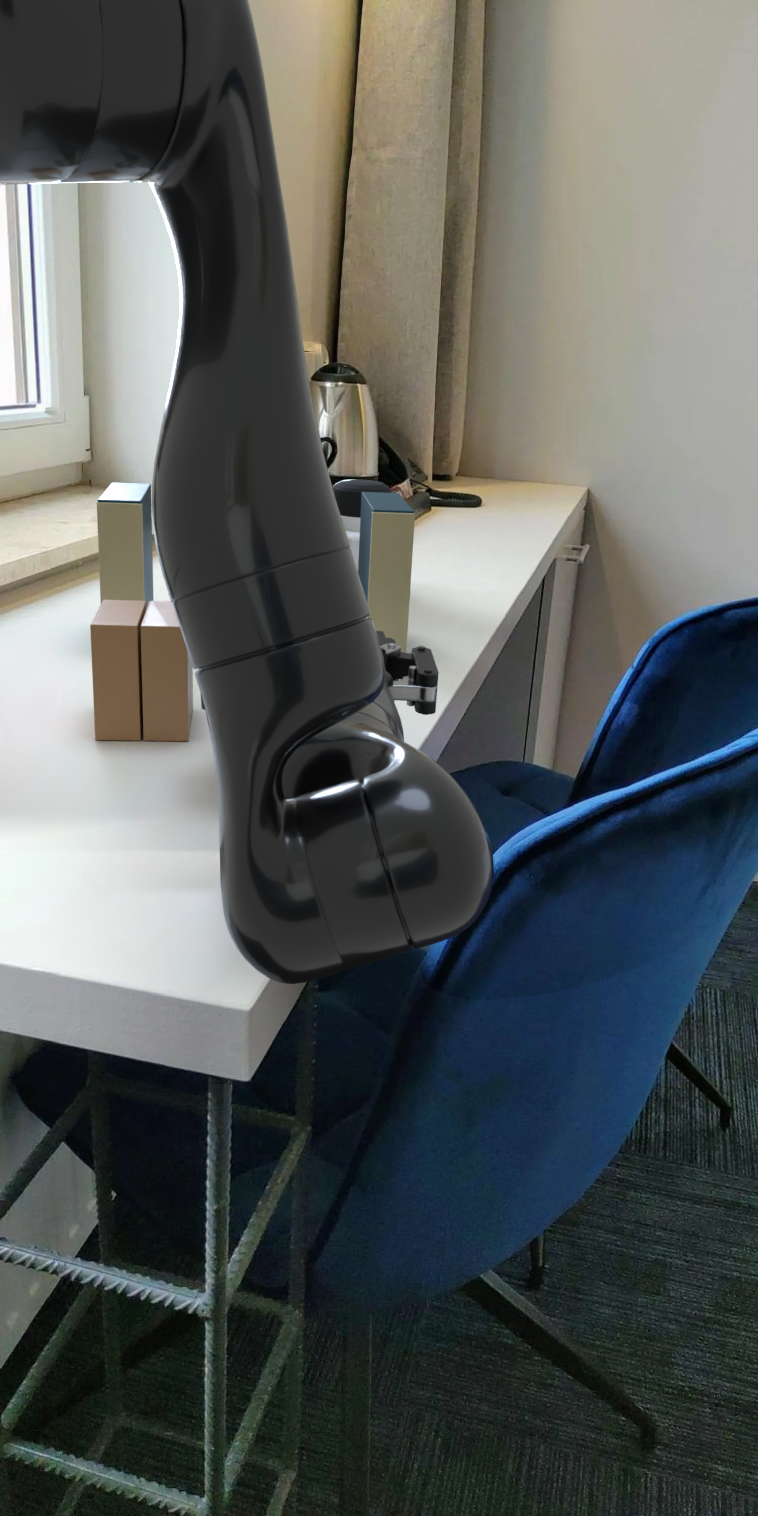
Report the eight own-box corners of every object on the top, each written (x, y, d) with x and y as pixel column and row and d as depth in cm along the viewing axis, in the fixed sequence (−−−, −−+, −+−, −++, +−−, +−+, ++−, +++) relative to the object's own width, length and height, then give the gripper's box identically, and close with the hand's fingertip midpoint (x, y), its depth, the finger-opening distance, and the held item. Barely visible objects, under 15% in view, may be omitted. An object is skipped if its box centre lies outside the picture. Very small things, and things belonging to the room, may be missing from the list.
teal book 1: (102, 658, 93) (96, 499, 88) (115, 626, 102) (110, 482, 97) (145, 658, 93) (141, 501, 88) (154, 627, 102) (151, 483, 98)
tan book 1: (95, 740, 75) (90, 624, 72) (107, 706, 81) (102, 599, 78) (140, 740, 75) (137, 625, 72) (148, 707, 82) (146, 600, 79)
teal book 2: (365, 663, 95) (372, 509, 91) (354, 632, 105) (360, 491, 100) (405, 663, 96) (415, 511, 91) (391, 632, 105) (399, 492, 100)
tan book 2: (143, 740, 75) (140, 625, 72) (151, 707, 82) (149, 600, 79) (188, 741, 76) (187, 626, 73) (193, 708, 82) (192, 601, 79)
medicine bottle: (403, 600, 118) (410, 484, 114) (347, 606, 114) (352, 487, 110) (365, 586, 123) (370, 475, 119) (310, 591, 119) (314, 477, 115)
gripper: (466, 661, 58) (422, 590, 73) (190, 656, 56) (202, 584, 71) (455, 793, 61) (414, 699, 76) (191, 792, 59) (203, 695, 74)
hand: (311, 643), depth 73 cm, fingers open, 8 cm apart
